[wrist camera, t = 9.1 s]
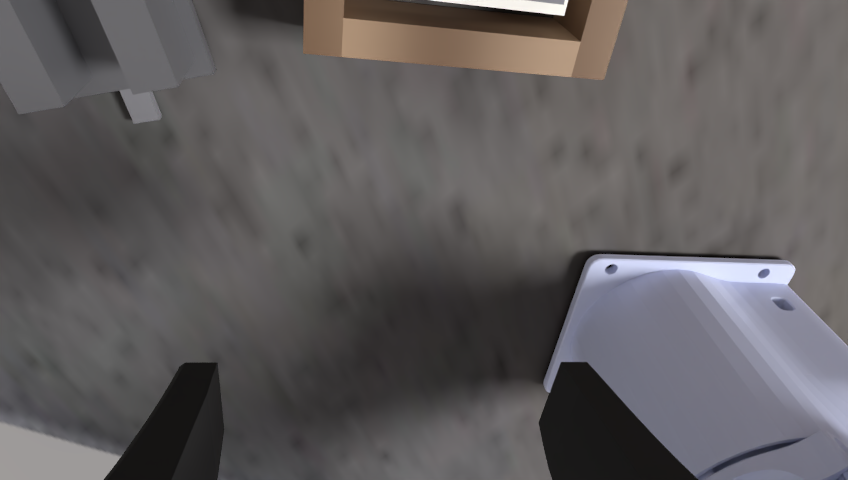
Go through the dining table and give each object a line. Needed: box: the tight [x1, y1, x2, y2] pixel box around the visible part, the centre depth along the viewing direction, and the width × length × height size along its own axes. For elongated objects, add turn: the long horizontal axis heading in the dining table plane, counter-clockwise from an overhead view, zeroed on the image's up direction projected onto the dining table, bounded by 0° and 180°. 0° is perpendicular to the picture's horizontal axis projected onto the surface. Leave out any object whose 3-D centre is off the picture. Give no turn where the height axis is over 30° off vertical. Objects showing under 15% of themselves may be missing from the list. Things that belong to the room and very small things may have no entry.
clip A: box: [0, 0, 216, 114], centre depth 15 cm, size 5×5×3 cm
